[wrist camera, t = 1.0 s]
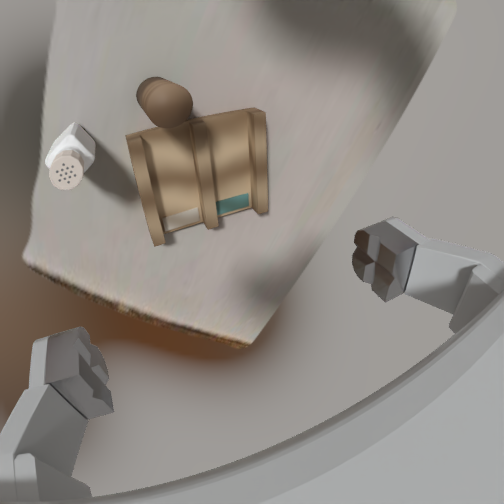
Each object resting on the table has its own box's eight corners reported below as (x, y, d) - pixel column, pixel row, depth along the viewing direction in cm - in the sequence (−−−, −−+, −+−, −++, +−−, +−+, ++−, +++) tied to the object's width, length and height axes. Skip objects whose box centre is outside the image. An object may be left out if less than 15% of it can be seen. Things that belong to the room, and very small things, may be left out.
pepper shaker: (73, 166, 30) (66, 203, 24) (50, 144, 27) (35, 175, 21) (97, 142, 30) (97, 172, 23) (75, 119, 27) (66, 141, 21)
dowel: (134, 81, 28) (143, 89, 22) (169, 73, 29) (190, 80, 23) (139, 114, 31) (150, 133, 24) (173, 106, 32) (195, 122, 25)
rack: (125, 135, 31) (127, 142, 29) (254, 107, 36) (265, 112, 34) (150, 234, 40) (154, 246, 38) (258, 201, 45) (267, 211, 43)
